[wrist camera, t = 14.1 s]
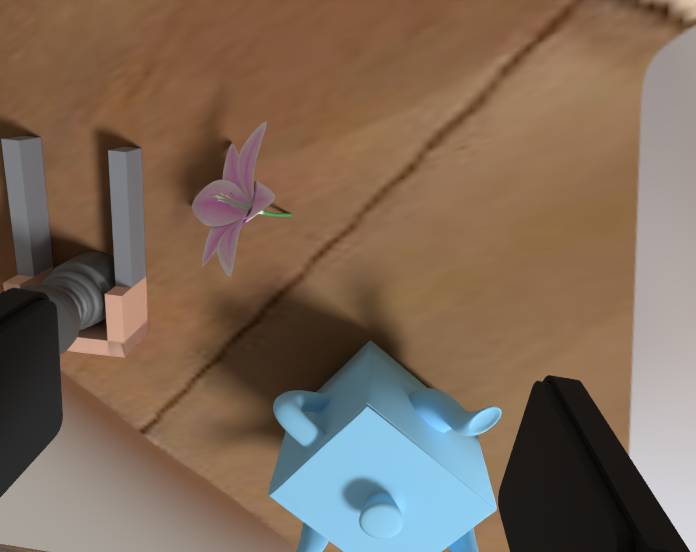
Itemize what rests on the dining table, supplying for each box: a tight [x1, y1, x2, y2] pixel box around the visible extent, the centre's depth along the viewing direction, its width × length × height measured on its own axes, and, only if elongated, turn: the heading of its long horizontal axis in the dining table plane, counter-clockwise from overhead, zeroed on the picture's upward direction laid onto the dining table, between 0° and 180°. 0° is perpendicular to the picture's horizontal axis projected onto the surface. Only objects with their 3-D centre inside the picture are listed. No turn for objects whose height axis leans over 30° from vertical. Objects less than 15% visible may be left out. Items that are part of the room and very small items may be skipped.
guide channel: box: [1, 136, 148, 358], centre depth 47 cm, size 18×10×5 cm, turn 174°
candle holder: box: [19, 251, 116, 355], centre depth 39 cm, size 6×6×25 cm
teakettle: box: [268, 340, 502, 552], centre depth 47 cm, size 19×19×15 cm
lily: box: [192, 122, 292, 277], centre depth 44 cm, size 12×12×10 cm
